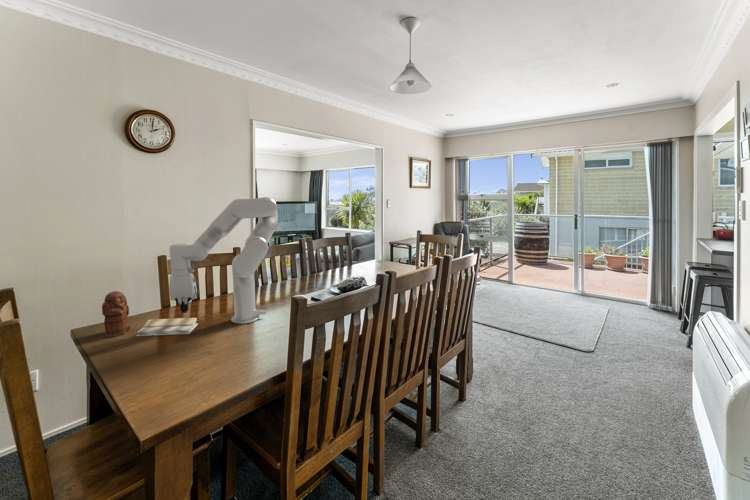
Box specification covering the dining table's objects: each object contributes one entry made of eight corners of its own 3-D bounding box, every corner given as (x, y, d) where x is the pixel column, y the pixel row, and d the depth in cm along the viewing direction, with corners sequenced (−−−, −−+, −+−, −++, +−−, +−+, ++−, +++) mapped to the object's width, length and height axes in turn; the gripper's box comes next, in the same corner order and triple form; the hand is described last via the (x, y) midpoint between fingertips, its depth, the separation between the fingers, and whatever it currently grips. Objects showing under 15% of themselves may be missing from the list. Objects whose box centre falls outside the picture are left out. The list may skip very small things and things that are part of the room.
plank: (196, 320, 165) (196, 317, 165) (193, 327, 160) (192, 325, 160) (149, 322, 162) (148, 319, 161) (144, 329, 157) (143, 327, 157)
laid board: (192, 328, 160) (192, 325, 159) (188, 332, 154) (188, 329, 154) (143, 330, 156) (143, 327, 156) (137, 335, 151) (136, 332, 151)
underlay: (198, 324, 166) (198, 323, 166) (189, 333, 154) (189, 333, 154) (148, 326, 162) (148, 325, 162) (135, 336, 151) (135, 335, 151)
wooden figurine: (120, 337, 150) (116, 295, 147) (103, 338, 149) (98, 295, 146) (133, 326, 161) (130, 287, 158) (117, 327, 160) (113, 288, 157)
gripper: (202, 269, 163) (205, 308, 166) (166, 270, 161) (170, 310, 164) (196, 273, 156) (199, 314, 159) (159, 274, 154) (163, 315, 157)
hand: (184, 311), depth 161 cm, fingers closed
